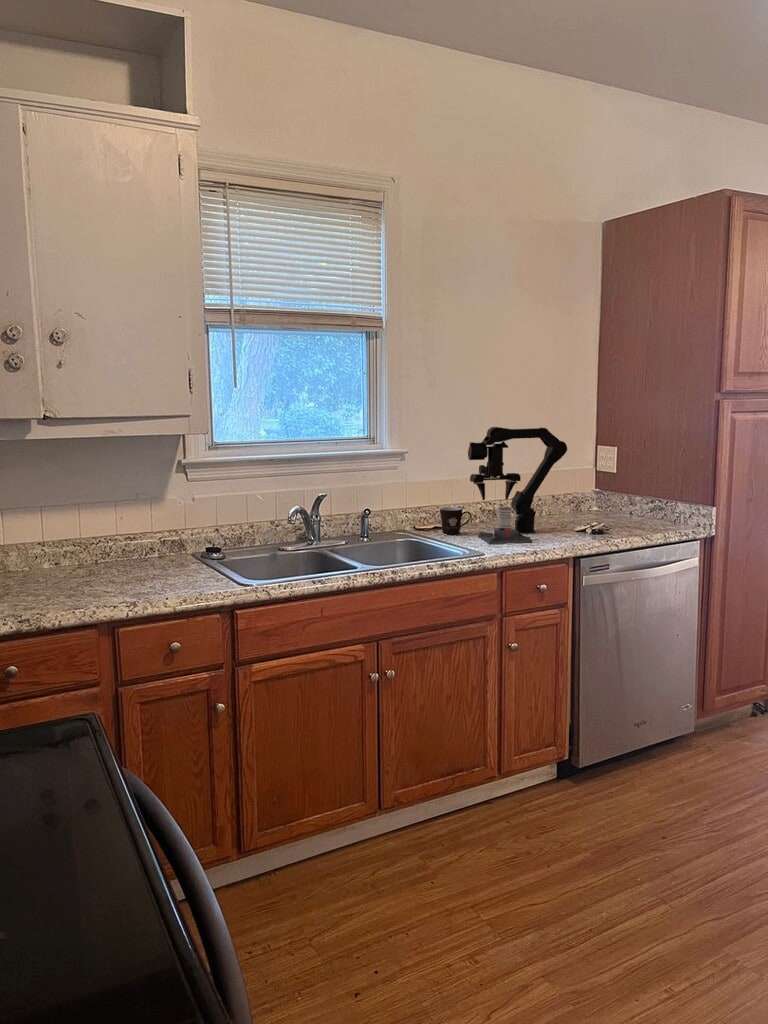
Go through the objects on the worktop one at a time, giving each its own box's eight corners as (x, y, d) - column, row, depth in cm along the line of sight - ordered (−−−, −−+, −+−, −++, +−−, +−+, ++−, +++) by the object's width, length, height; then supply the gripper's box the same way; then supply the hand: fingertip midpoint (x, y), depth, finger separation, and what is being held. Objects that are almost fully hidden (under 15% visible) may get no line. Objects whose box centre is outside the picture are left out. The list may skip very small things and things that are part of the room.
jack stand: (518, 535, 297) (518, 523, 297) (532, 542, 282) (532, 529, 281) (477, 536, 295) (477, 524, 294) (489, 544, 279) (489, 531, 279)
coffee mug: (437, 535, 299) (437, 509, 297) (443, 532, 307) (443, 506, 305) (467, 537, 295) (467, 510, 293) (472, 533, 303) (472, 507, 302)
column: (507, 525, 290) (507, 507, 289) (510, 527, 286) (510, 508, 285) (498, 526, 289) (498, 507, 288) (501, 527, 286) (501, 508, 285)
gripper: (511, 457, 309) (510, 496, 311) (465, 458, 305) (465, 498, 308) (521, 459, 298) (520, 500, 300) (474, 460, 295) (474, 501, 297)
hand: (495, 499), depth 302 cm, fingers open, 9 cm apart
